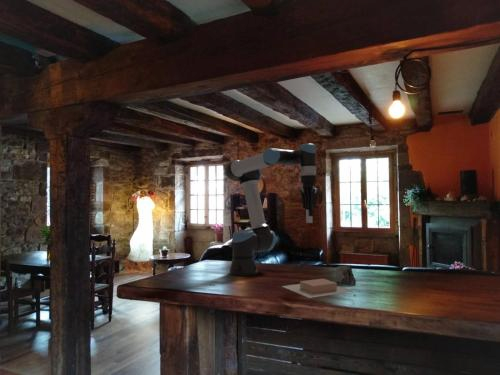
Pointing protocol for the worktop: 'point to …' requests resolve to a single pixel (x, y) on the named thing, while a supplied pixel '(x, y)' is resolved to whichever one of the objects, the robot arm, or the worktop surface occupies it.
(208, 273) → the worktop surface
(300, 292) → the board
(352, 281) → the stone
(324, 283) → the picture frame
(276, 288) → the worktop surface
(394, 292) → the worktop surface
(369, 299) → the worktop surface
